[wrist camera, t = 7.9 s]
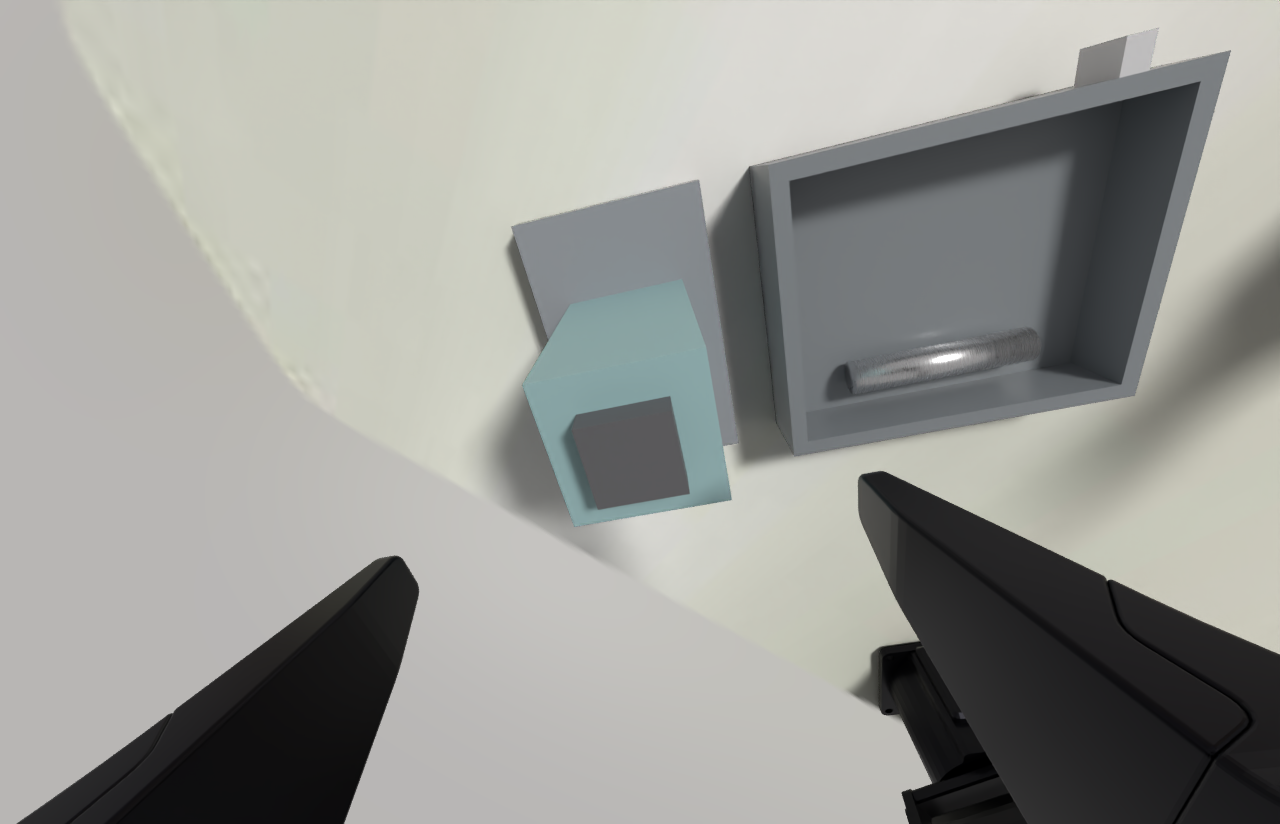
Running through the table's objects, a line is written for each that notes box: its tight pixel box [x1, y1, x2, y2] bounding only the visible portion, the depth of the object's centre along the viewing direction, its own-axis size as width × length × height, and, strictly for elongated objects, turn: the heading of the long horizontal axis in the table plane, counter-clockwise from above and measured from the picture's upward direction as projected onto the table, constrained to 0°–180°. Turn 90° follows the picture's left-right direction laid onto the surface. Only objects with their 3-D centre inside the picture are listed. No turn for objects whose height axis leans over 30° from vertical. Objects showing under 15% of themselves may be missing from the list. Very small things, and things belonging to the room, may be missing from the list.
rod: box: [844, 327, 1041, 394], centre depth 19 cm, size 1×7×1 cm, turn 103°
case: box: [749, 28, 1231, 456], centre depth 17 cm, size 12×13×3 cm
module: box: [522, 279, 732, 527], centre depth 15 cm, size 4×4×9 cm
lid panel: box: [511, 180, 739, 446], centre depth 20 cm, size 11×7×1 cm, turn 13°
